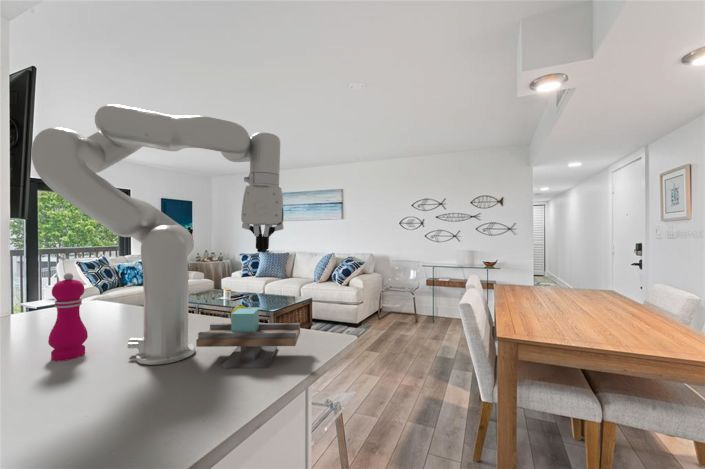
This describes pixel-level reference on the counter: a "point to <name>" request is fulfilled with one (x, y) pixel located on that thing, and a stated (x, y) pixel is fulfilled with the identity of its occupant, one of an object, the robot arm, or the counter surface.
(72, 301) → the pepper mill
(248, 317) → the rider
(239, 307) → the lemon
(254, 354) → the wooden tray
